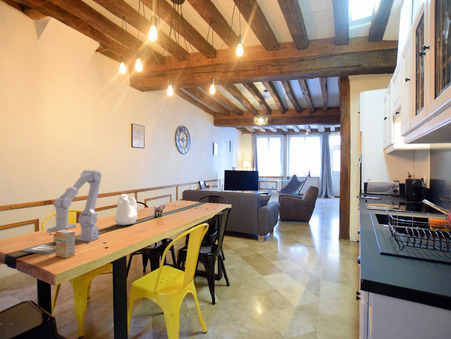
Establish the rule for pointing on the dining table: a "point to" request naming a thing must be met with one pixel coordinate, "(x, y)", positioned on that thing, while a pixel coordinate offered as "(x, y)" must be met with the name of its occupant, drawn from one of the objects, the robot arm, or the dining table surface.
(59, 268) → the dining table surface
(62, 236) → the supplement box
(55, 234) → the tan wooden bar
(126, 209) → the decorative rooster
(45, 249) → the label plate
